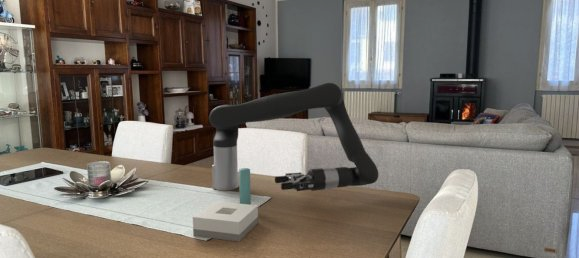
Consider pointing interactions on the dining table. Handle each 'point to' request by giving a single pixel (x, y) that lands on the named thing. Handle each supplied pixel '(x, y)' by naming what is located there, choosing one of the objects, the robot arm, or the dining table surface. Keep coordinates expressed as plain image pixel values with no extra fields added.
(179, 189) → the dining table surface
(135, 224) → the dining table surface
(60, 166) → the dining table surface
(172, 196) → the dining table surface
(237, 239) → the block
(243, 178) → the pin
